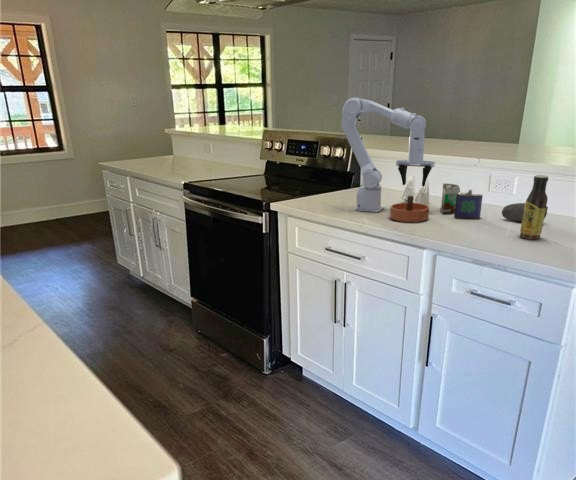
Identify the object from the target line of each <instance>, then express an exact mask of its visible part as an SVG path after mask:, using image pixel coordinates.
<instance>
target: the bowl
mask: <svg viewBox="0 0 576 480" xmlns="http://www.w3.org/2000/svg"><path fill="white" fill-rule="evenodd" d="M389 212H390V213H389V218H390V219H392V220H394V221H395V222H401V223H420V222H424V221H427V220H428V219H429V217H430V206H429V205H428V204H419V203H417V202H413V211H407V202H399V203H394V204H392V205H390V211H389Z"/></svg>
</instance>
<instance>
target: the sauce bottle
mask: <svg viewBox="0 0 576 480" xmlns="http://www.w3.org/2000/svg"><path fill="white" fill-rule="evenodd" d="M548 181H549V176H548V175H546V174H545V175H543V174H536V175H534V176H533V184H532V188H531V190H530V193H529V194H528V196H527V198H526V199H525V202H524V203H525V208H524V213H523V219H522V222H521V225H520V230H519V232H520V234H519V236H520V238H522V239H525V240H538V239H540V238H541V234H542V230H543V225H544V222H545V221H544V220H545V218H544V216H545V212H546V206H547V204H548V195H547V192H546V190H547V184H548Z"/></svg>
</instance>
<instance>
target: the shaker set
mask: <svg viewBox="0 0 576 480" xmlns="http://www.w3.org/2000/svg"><path fill="white" fill-rule="evenodd" d="M404 186H405V187H404V189H403V191H402V193H401V195H400V199H401V200H403V201H405V202H407V196H413V203H419V204H424V205H429V204H430V183H429V180H426V183H425V186H422V185H421V186H420V188H419V190H418V192H417V194H416V178H415V176H409V178H408V180H407V181H406V184H405V185H404Z"/></svg>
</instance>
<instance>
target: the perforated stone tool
mask: <svg viewBox="0 0 576 480" xmlns="http://www.w3.org/2000/svg"><path fill="white" fill-rule="evenodd" d="M525 203H526V202H518V203H517V202H516V203H511V204H507V205H506V206H504V207H503V208H502V210H501V215H502V217H503V218H504V219H506V220H507V221H508V220H509V221H514V222H518V223H522V219H523V213H524V208H525ZM548 209H549V208H548V206H547V205H546V212H545V216H544V219H545V218H547V214H548Z"/></svg>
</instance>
